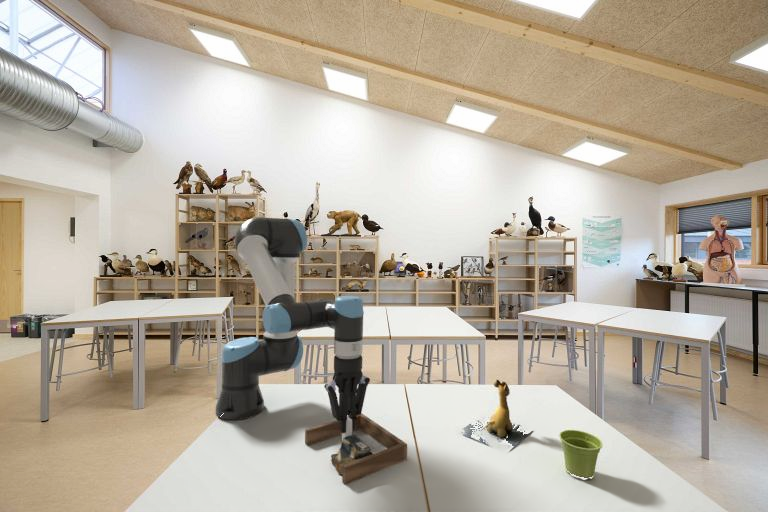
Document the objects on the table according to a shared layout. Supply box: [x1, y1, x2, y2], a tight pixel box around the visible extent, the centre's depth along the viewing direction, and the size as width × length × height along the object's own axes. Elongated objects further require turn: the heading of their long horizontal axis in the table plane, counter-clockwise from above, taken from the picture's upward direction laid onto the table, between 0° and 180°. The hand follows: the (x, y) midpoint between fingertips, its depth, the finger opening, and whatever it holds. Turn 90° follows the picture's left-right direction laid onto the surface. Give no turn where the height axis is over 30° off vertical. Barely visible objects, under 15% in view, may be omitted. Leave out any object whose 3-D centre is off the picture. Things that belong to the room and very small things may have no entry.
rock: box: [330, 434, 374, 475], centre depth 94 cm, size 9×9×6 cm
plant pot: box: [558, 429, 603, 478], centre depth 93 cm, size 9×9×9 cm
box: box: [304, 412, 408, 485], centre depth 101 cm, size 22×19×4 cm
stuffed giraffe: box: [462, 379, 529, 447], centre depth 113 cm, size 16×18×16 cm
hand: (346, 442), depth 100 cm, fingers closed
